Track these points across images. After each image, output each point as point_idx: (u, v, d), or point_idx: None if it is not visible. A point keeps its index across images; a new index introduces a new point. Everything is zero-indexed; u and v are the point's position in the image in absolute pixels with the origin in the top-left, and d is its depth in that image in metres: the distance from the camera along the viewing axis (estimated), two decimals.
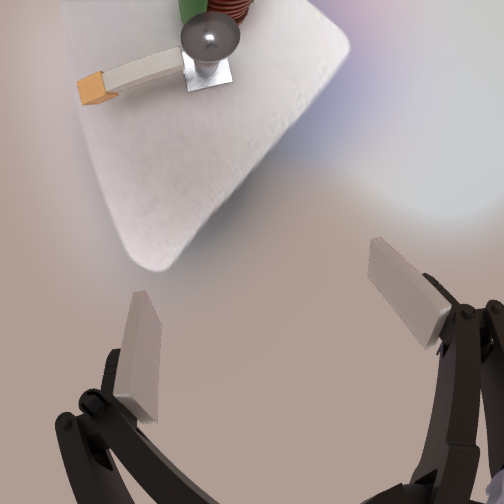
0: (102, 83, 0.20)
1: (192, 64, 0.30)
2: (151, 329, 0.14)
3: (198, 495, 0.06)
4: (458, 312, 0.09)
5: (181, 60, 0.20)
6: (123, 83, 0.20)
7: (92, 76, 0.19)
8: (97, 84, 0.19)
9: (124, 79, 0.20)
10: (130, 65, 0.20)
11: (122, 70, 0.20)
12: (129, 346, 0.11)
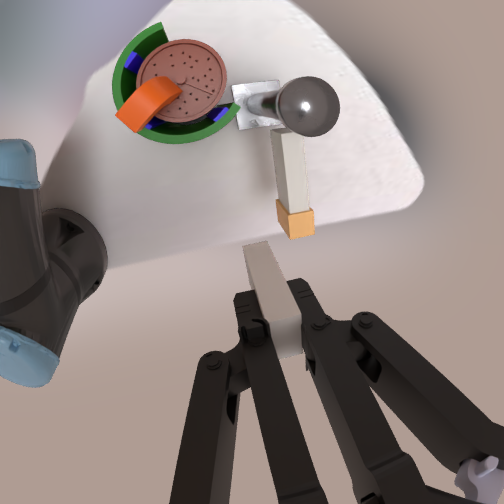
0: (300, 212, 0.27)
1: (255, 117, 0.33)
2: None
3: (308, 451, 0.06)
4: (309, 328, 0.11)
5: None
6: (307, 192, 0.26)
7: (290, 223, 0.27)
8: (301, 218, 0.27)
9: (303, 190, 0.26)
10: (290, 184, 0.25)
11: (293, 192, 0.26)
12: (263, 284, 0.13)
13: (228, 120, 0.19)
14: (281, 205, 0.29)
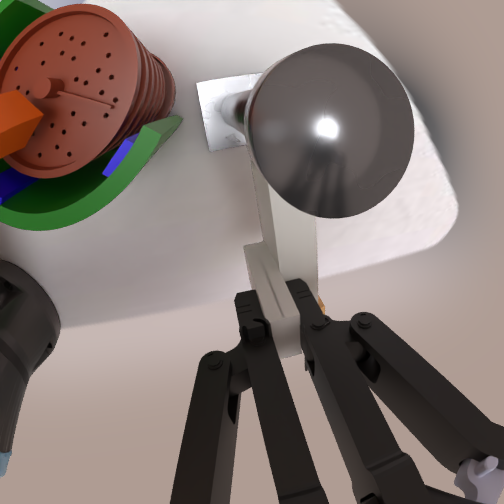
0: None
1: (233, 131, 0.21)
2: None
3: (308, 451, 0.06)
4: (308, 328, 0.11)
5: None
6: (315, 279, 0.15)
7: None
8: None
9: (309, 278, 0.15)
10: (287, 270, 0.14)
11: None
12: (264, 284, 0.13)
13: (134, 171, 0.08)
14: None
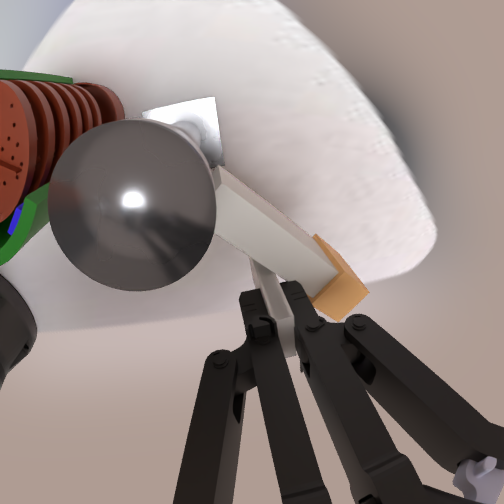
0: (327, 285, 0.15)
1: None
2: None
3: (312, 451, 0.06)
4: (302, 330, 0.11)
5: (218, 192, 0.11)
6: (315, 255, 0.14)
7: (322, 308, 0.15)
8: (333, 293, 0.15)
9: (307, 259, 0.14)
10: (279, 267, 0.14)
11: (294, 273, 0.14)
12: (269, 283, 0.13)
13: (25, 232, 0.08)
14: None
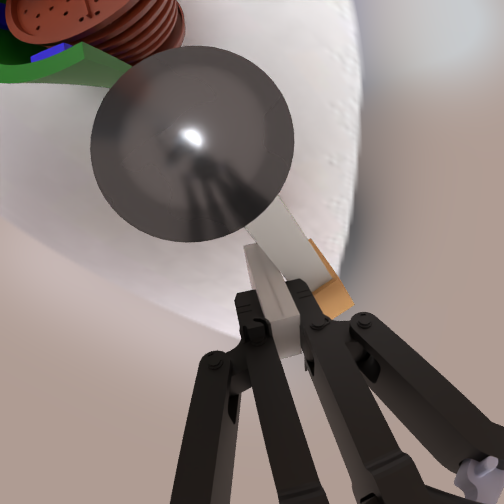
0: (319, 289, 0.15)
1: None
2: None
3: (308, 451, 0.06)
4: (308, 328, 0.11)
5: None
6: (316, 256, 0.14)
7: None
8: (323, 297, 0.15)
9: (308, 258, 0.14)
10: (280, 260, 0.14)
11: (292, 269, 0.14)
12: (265, 284, 0.13)
13: (47, 72, 0.05)
14: None
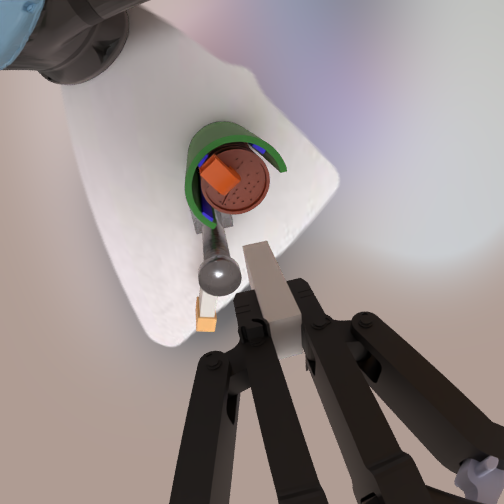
0: (207, 317, 0.38)
1: None
2: None
3: (308, 451, 0.06)
4: (309, 328, 0.11)
5: None
6: (215, 307, 0.37)
7: (198, 322, 0.38)
8: (206, 321, 0.38)
9: (212, 306, 0.37)
10: (204, 300, 0.36)
11: (205, 305, 0.37)
12: (263, 284, 0.13)
13: (203, 221, 0.28)
14: (198, 305, 0.40)
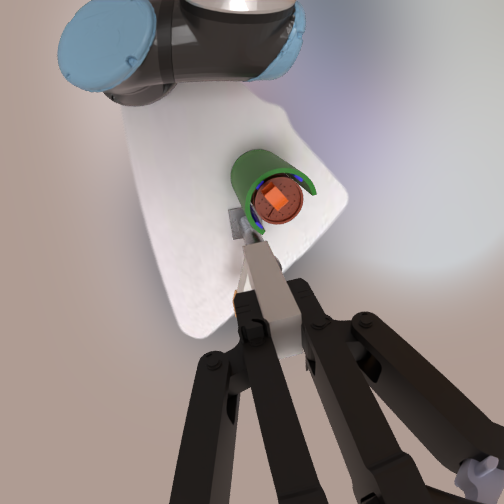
0: None
1: (237, 220, 0.54)
2: None
3: (307, 451, 0.06)
4: (309, 328, 0.11)
5: None
6: None
7: None
8: None
9: None
10: None
11: None
12: (263, 284, 0.13)
13: (255, 229, 0.39)
14: None
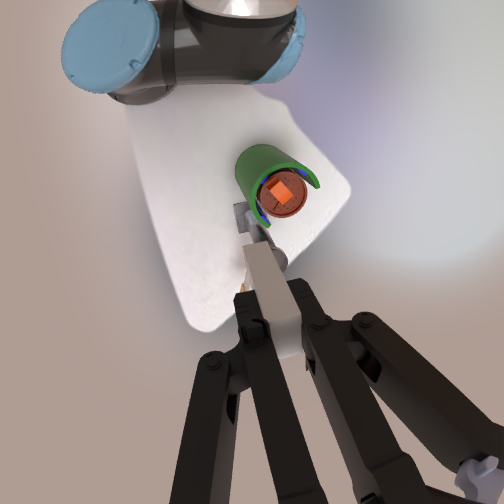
0: None
1: (242, 215, 0.54)
2: None
3: (307, 451, 0.06)
4: (309, 328, 0.11)
5: None
6: None
7: None
8: None
9: None
10: None
11: None
12: (263, 284, 0.13)
13: (261, 222, 0.39)
14: (244, 289, 0.51)
